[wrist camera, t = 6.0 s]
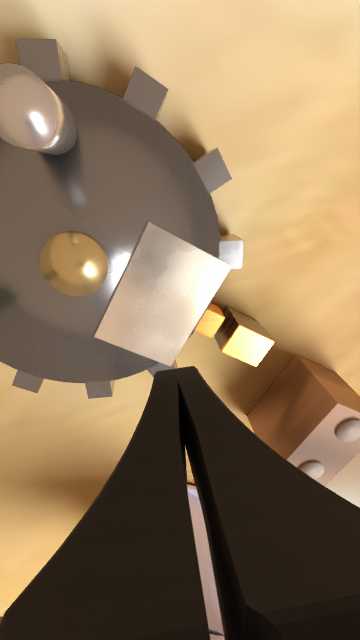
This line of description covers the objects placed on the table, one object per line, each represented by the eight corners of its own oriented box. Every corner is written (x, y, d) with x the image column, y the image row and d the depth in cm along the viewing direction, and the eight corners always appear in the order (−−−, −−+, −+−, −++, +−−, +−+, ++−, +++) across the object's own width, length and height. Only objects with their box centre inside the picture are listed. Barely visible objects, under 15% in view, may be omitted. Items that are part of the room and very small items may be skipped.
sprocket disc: (227, 369, 20) (252, 427, 15) (-31, 392, 18) (-87, 464, 14) (244, 57, 13) (301, -10, 8) (-174, 53, 11) (-390, -31, 7)
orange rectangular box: (258, 321, 19) (274, 342, 16) (242, 343, 19) (256, 366, 17) (226, 306, 18) (239, 325, 16) (211, 330, 19) (221, 351, 16)
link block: (295, 353, 20) (340, 405, 16) (336, 373, 22) (389, 427, 17) (246, 415, 22) (274, 477, 18) (287, 430, 24) (322, 492, 19)
